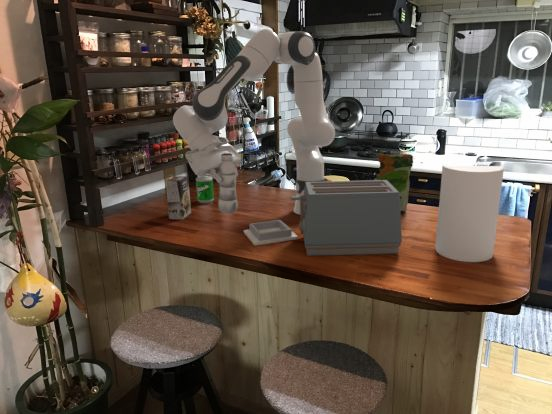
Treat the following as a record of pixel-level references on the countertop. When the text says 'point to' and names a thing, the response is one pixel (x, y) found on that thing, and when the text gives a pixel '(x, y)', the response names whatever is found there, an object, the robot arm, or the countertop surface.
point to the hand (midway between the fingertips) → (229, 179)
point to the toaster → (350, 218)
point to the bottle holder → (269, 232)
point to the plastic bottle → (227, 184)
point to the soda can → (204, 189)
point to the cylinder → (468, 212)
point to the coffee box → (178, 197)
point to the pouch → (396, 174)
